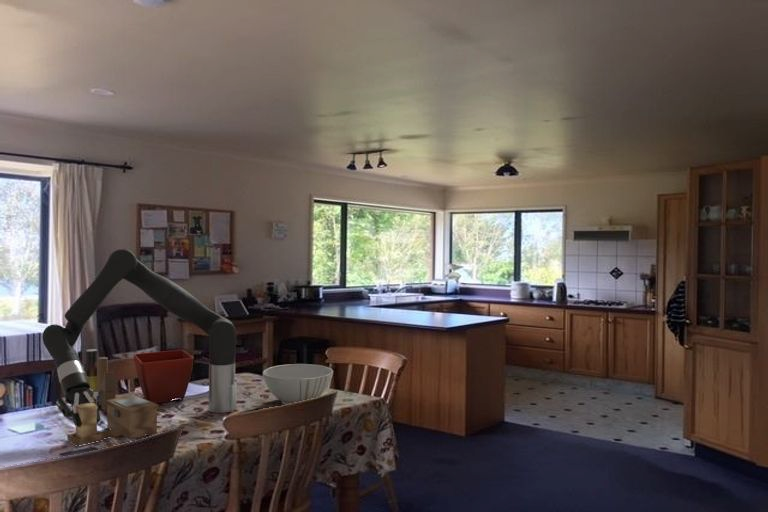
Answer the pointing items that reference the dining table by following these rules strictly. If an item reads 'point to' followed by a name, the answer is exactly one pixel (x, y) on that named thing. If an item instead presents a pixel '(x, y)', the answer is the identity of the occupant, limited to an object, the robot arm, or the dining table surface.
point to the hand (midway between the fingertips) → (88, 423)
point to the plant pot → (163, 374)
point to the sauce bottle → (91, 369)
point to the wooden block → (105, 381)
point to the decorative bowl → (297, 381)
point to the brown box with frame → (125, 420)
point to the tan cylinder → (87, 420)
